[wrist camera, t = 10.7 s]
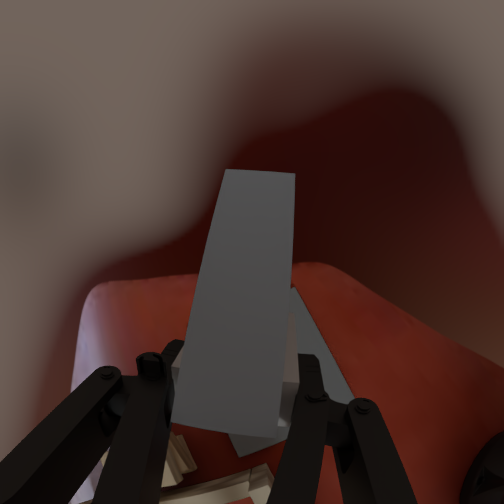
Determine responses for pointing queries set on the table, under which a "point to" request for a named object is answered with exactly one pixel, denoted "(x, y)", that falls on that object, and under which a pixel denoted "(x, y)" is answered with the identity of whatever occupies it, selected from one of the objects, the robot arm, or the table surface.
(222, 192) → the grey rectangular block
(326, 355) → the mat
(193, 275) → the table surface
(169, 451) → the offcut
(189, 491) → the rack
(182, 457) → the offcut
